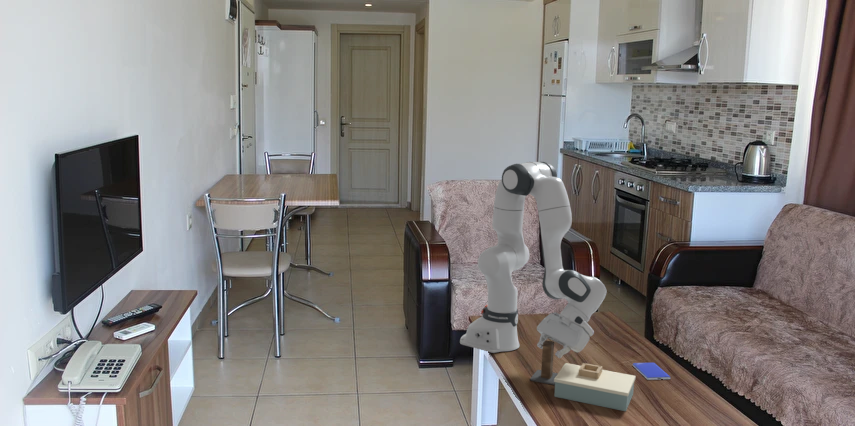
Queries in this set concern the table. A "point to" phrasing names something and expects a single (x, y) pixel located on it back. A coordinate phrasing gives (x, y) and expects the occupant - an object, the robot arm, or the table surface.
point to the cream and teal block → (594, 386)
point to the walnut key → (547, 359)
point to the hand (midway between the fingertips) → (548, 351)
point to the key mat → (538, 378)
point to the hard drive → (651, 371)
